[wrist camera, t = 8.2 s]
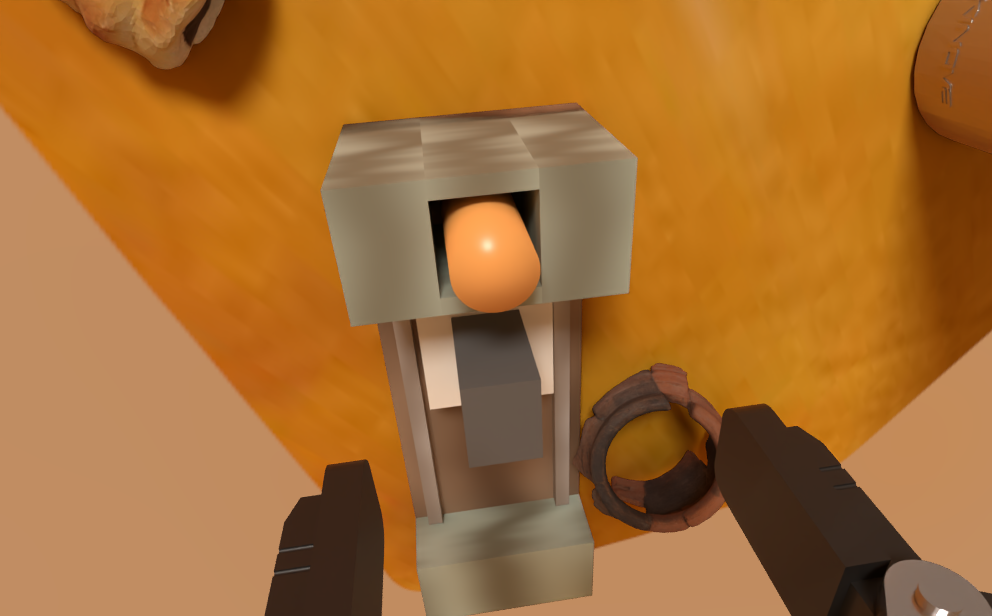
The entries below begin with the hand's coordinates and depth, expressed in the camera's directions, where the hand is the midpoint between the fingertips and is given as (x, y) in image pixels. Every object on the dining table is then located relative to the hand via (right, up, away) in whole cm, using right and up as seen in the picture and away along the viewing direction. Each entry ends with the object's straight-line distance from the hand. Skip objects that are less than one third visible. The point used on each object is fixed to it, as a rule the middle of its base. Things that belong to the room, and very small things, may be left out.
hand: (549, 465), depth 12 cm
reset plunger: (-2, +7, +12) cm, 14 cm away
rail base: (-2, -1, +21) cm, 21 cm away
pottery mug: (+9, -4, +25) cm, 27 cm away
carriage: (-2, +2, +17) cm, 17 cm away
